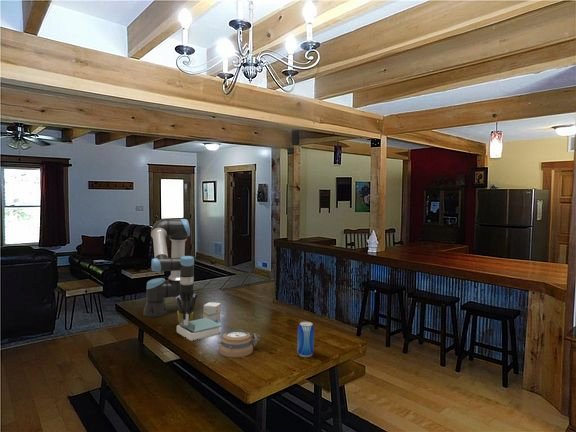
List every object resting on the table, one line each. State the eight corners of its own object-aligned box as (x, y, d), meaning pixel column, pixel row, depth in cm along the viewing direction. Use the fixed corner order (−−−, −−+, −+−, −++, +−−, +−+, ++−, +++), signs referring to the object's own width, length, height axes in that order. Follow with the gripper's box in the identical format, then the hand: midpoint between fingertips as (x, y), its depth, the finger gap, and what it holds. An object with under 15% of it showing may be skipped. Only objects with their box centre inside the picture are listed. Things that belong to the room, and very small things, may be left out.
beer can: (296, 351, 201) (297, 321, 200) (312, 351, 201) (313, 321, 201) (298, 358, 192) (298, 326, 192) (314, 357, 193) (315, 326, 192)
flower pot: (176, 324, 238) (176, 310, 238) (191, 323, 242) (191, 309, 241) (178, 329, 230) (178, 314, 230) (193, 327, 233) (193, 312, 233)
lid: (180, 324, 226) (180, 318, 226) (206, 318, 237) (206, 312, 237) (194, 332, 213) (194, 325, 212) (221, 326, 224) (222, 320, 224)
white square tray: (176, 332, 225) (176, 325, 225) (203, 326, 236) (203, 319, 236) (191, 341, 211) (191, 333, 211) (219, 334, 223) (219, 327, 223)
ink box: (215, 324, 240) (215, 306, 239) (202, 323, 241) (203, 305, 241) (220, 320, 248) (221, 302, 248) (208, 319, 250) (208, 301, 249)
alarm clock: (213, 333, 198) (246, 323, 216) (212, 351, 199) (245, 339, 216) (234, 342, 187) (268, 330, 204) (234, 360, 187) (267, 347, 205)
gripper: (178, 286, 211) (178, 328, 212) (200, 283, 219) (199, 324, 220) (172, 283, 216) (172, 325, 217) (194, 281, 225) (193, 321, 226)
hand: (186, 324), depth 219 cm, fingers closed
